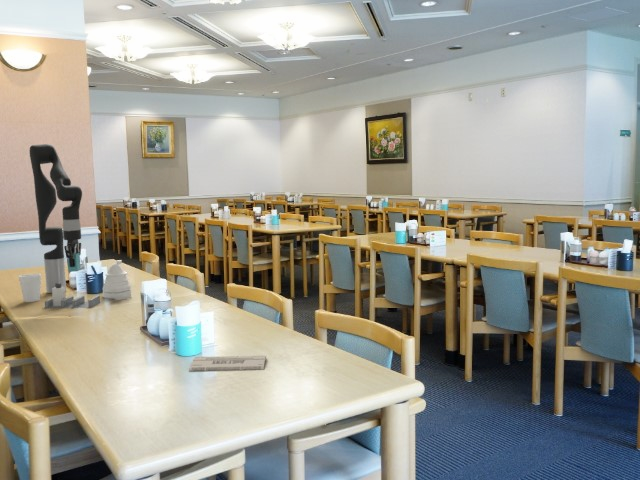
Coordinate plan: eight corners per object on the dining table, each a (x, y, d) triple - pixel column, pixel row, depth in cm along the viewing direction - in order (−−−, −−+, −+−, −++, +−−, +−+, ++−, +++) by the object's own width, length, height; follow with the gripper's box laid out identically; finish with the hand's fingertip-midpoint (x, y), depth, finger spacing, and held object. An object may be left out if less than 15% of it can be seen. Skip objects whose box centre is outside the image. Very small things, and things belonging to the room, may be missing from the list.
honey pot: (135, 294, 284) (133, 258, 282) (124, 300, 271) (122, 262, 269) (110, 294, 285) (108, 258, 283) (98, 300, 272) (95, 262, 270)
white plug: (57, 304, 260) (55, 282, 259) (66, 304, 260) (64, 282, 259) (53, 306, 256) (51, 284, 255) (62, 306, 256) (60, 283, 255)
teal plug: (72, 270, 269) (70, 248, 268) (80, 269, 269) (79, 248, 268) (68, 271, 265) (67, 249, 264) (77, 271, 265) (75, 249, 264)
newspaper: (266, 358, 181) (266, 351, 180) (263, 375, 169) (263, 367, 168) (194, 360, 180) (193, 352, 180) (186, 377, 168) (185, 369, 168)
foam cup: (36, 304, 265) (34, 276, 263) (16, 304, 265) (14, 277, 264) (46, 300, 274) (45, 273, 273) (27, 300, 274) (25, 273, 273)
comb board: (54, 304, 264) (53, 296, 263) (102, 303, 264) (102, 295, 264) (42, 310, 252) (41, 301, 251) (92, 309, 252) (92, 300, 252)
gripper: (70, 227, 272) (72, 263, 274) (56, 230, 258) (59, 268, 260) (86, 227, 272) (88, 263, 274) (73, 230, 258) (76, 268, 260)
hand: (74, 265), depth 267 cm, fingers closed on teal plug, 4 cm apart
